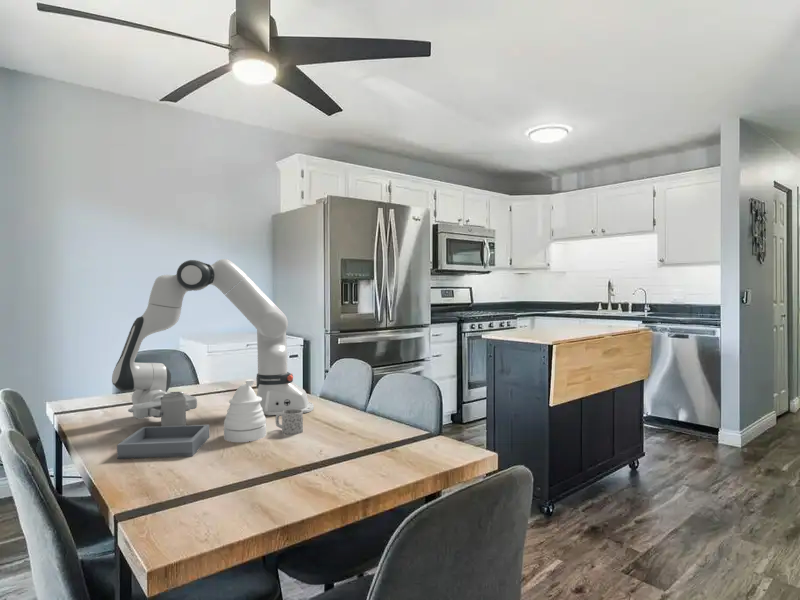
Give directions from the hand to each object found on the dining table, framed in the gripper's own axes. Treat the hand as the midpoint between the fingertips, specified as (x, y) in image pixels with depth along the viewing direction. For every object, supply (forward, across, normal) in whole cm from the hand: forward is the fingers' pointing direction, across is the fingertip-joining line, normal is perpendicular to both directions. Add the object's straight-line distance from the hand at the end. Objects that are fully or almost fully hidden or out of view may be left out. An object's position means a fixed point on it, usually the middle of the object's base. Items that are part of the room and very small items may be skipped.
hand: (174, 410), depth 168 cm
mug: (+28, +25, +7) cm, 39 cm away
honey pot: (+23, +13, +7) cm, 27 cm away
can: (-1, 0, +7) cm, 7 cm away
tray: (+16, -9, +6) cm, 20 cm away
